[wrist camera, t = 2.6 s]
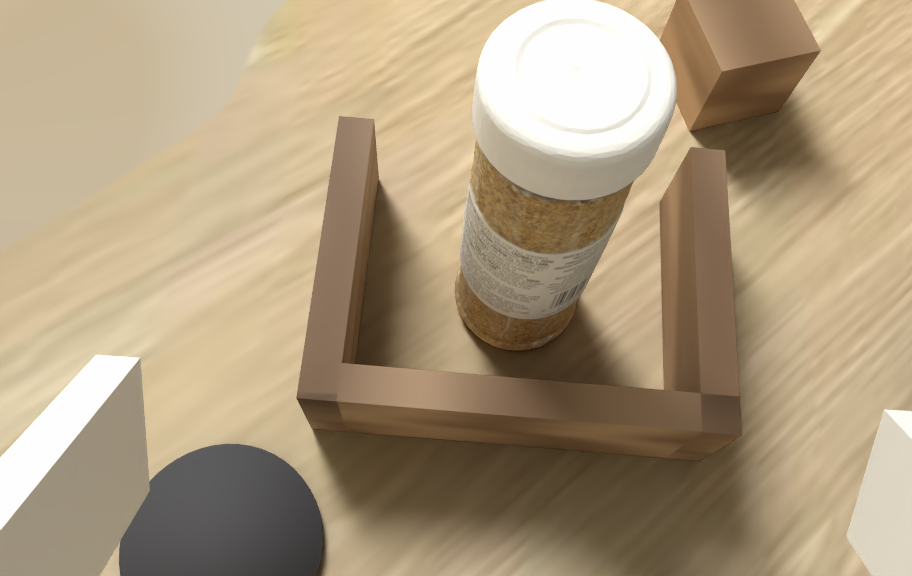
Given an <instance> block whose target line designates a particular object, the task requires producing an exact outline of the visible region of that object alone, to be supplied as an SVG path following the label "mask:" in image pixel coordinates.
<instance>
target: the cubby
mask: <svg viewBox="0 0 912 576" xmlns="http://www.w3.org/2000/svg"><path fill="white" fill-rule="evenodd" d="M378 179H379V176H378V163H377V151H376V138H375V126H374V119H365V118H354V117H342V116H339V121H338V128H337V134H336V141H335V147H334V154H333V161H332V167H331V174H330V180H329V187H328V194H327V200H326V207H325V213H324V220H323V227H322V233H321V240H320V246H319V253H318V260H317V266H316V273H315V279H314V286H313V292H312V299H311V306H310V312H309V319H308V325H307V332H306V339H305V345H304V352H303V358H302V365H301V372H300V378H299V385H298V391H297V400H298V402H299V404H300V406H301V408H302V410H303V412H304V414H305V416H306V418H307V420H308V422H309V424H310V426H311V428H312V429H324V430H336V431H348V432H360V433H372V434H384V435H396V436H408V437H420V438H432V439H444V440H456V441H468V442H480V443H492V444H504V445H516V446H528V447H540V448H552V449H564V450H576V451H588V452H600V453H612V454H624V455H636V456H648V457H660V458H672V459H684V460H696V461H701V460H702V459H704V458H706V457H707V456H709V455H710V454H712V453H714V452H715V451H717V450H719V449H720V448H722V447H724V446H725V445H727V444H728V443H730V442H732V441H733V440H735V439H737V438H738V437H740V436H741V435H742V429H741V412H740V395H739V378H738V360H737V343H736V326H735V309H734V292H733V275H732V258H731V241H730V224H729V207H728V190H727V173H726V156H725V150H717V149H706V148H694V147H691V148H690V150H689V151H688V153H687V155H686V157H685V158H684V160H683V162H682V164H681V165H680V167H679V169H678V171H677V173H676V174H675V176H674V178H673V180H672V181H671V183H670V185H669V187H668V188H667V190H666V192H665V194H664V196H663V197H662V199H661V201H660V238H661V281H662V325H663V369H664V390H656V389H644V388H633V387H621V386H609V385H597V384H585V383H573V382H561V381H549V380H538V379H526V378H514V377H502V376H490V375H478V374H466V373H455V372H443V371H431V370H419V369H407V368H395V367H383V366H371V365H360V364H355V362H356V354H357V346H358V338H359V330H360V322H361V314H362V307H363V299H364V291H365V283H366V275H367V267H368V259H369V251H370V243H371V235H372V227H373V219H374V211H375V203H376V195H377V187H378Z"/></svg>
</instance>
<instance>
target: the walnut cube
mask: <svg viewBox="0 0 912 576" xmlns="http://www.w3.org/2000/svg"><path fill="white" fill-rule="evenodd" d="M660 42H661V43H662V45H663V46H664V48H665V49H666V51H667V53H668V55H669V57H670V59H671V61H672V64H673V67H674V71H675V75H676V83H677V99H676V102H677V105H678V107H679V109H680V111H681V114H682V116H683V118H684V120H685V123H686V125H687V127H688V129H689V131H693V130H697V129H702V128H706V127H711V126H715V125H720V124H724V123H729V122H733V121H738V120H742V119H747V118H751V117H756V116H760V115H765V114H769V113H774V112H778V111H779V110H780V108H781V107H782V106H783V104H784V103H785V101H786V100H787V98H788V97H789V96H790V94H791V93H792V91H793V90H794V88H795V87H796V86H797V84H798V83H799V81H800V80H801V78H802V77H803V75H804V74H805V73H806V71H807V70H808V68H809V67H810V65H811V64H812V63H813V61H814V60H815V58H816V57H817V55H818V54H819V53H820V51H821V50H820V48H819V46H818V44H817V42H816V40H815V38H814V37H813V35H812V33H811V31H810V29H809V27H808V25H807V24H806V22H805V20H804V18H803V16H802V14H801V12H800V10H799V9H798V7H797V5H796V3H795V1H794V0H676V3H675V5H674V8H673V10H672V12H671V15H670V17H669V20H668V22H667V24H666V27H665V29H664V32H663V34H662V36H661V39H660Z"/></svg>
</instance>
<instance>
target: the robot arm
mask: <svg viewBox="0 0 912 576" xmlns="http://www.w3.org/2000/svg"><path fill="white" fill-rule="evenodd" d="M149 491H150V486H149V472H148V458H147V444H146V430H145V417H144V403H143V389H142V375H141V361H140V358H137V357H122V356H108V355H95V356H94V357H93V359H92V360H91V361H90V362H89V363H88V364H87V365H86V366H85V367H84V368H83V369H82V370H81V371H80V373H79V374H78V375H77V376H76V377H75V378H74V379H73V380H72V381H71V382H70V383H69V384H68V385H67V387H66V388H65V389H64V390H63V391H62V392H61V393H60V394H59V395H58V396H57V397H56V398H55V399H54V401H53V402H52V403H51V404H50V405H49V406H48V407H47V408H46V409H45V410H44V411H43V412H42V413H41V415H40V416H39V417H38V418H37V419H36V420H35V421H34V422H33V423H32V424H31V425H30V426H29V427H28V429H27V430H26V431H25V432H24V433H23V434H22V435H21V436H20V437H19V438H18V439H17V440H16V441H15V443H14V444H13V445H12V446H11V447H10V448H9V449H8V450H7V451H6V452H5V453H4V454H3V455H2V457H1V458H0V576H100V574H101V572H102V571H103V569H104V567H105V566H106V564H107V562H108V561H109V559H110V557H111V555H112V554H113V552H114V550H115V549H116V547H117V545H118V544H119V542H120V540H121V539H122V537H123V535H124V533H125V532H126V530H127V528H128V527H129V525H130V523H131V522H132V520H133V518H134V517H135V515H136V513H137V511H138V510H139V508H140V506H141V505H142V503H143V501H144V500H145V498H146V496H147V494H148V493H149ZM846 537H847V539H848V540H849V542H850V543H851V545H852V546H853V548H854V549H855V551H856V552H857V554H858V555H859V557H860V558H861V560H862V562H863V563H864V565H865V566H866V568H867V569H868V571H869V572H870V574H871V575H872V576H912V411H900V410H886V409H884V411H883V415H882V418H881V421H880V425H879V428H878V431H877V435H876V438H875V442H874V445H873V448H872V452H871V455H870V458H869V462H868V465H867V468H866V472H865V475H864V479H863V482H862V485H861V489H860V492H859V495H858V499H857V502H856V505H855V509H854V512H853V515H852V519H851V522H850V526H849V529H848V532H847V536H846Z"/></svg>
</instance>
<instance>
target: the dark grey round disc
mask: <svg viewBox="0 0 912 576" xmlns="http://www.w3.org/2000/svg"><path fill="white" fill-rule="evenodd" d="M149 486H150V491H149V493H148V494H147V496H146V498H145V500H144V501H143V503H142V505H141V506H140V508H139V510H138V511H137V513H136V515H135V517H134V518H133V520H132V522H131V523H130V525H129V527H128V528H127V530H126V532H125V533H124V535H123V537H122V539H121V542H120V549H119V566H120V576H316V575H317V572H318V569H319V566H320V561H321V556H322V549H323V528H322V521H321V516H320V512H319V509H318V506H317V503H316V500H315V498H314V496H313V494H312V492H311V490H310V489H309V487H308V486H307V484H306V483H305V481H304V480H303V478H302V477H301V476H300V475H299V474H298V473H297V472H296V470H295V469H294V468H292V467H291V466H290V465H289V464H288V463H286V462H285V461H284V460H282V459H281V458H279V457H277V456H276V455H274V454H272V453H270V452H267V451H265V450H263V449H259V448H256V447H253V446H247V445H240V444H222V445H214V446H209V447H205V448H201V449H198V450H196V451H193V452H190V453H188V454H186V455H184V456H182V457H180V458H178V459H176V460H175V461H173V462H172V463H170V464H169V465H167V466H166V467H165V468H164V469H162V470H161V471H160V472H159V473H158V474H157V475H155V476H154V477H153V479H152V480H151V481H150V482H149Z"/></svg>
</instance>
